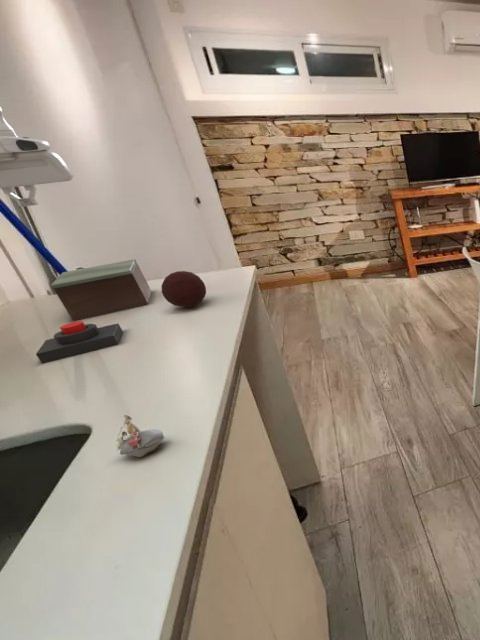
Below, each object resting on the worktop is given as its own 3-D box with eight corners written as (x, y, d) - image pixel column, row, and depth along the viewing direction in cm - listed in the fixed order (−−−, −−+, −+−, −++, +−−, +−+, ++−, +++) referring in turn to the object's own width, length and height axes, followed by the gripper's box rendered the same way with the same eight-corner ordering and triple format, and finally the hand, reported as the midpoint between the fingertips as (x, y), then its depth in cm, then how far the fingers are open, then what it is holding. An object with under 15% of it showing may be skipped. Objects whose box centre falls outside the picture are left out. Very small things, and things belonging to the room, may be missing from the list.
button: (62, 337, 100) (58, 329, 99) (66, 332, 103) (61, 324, 102) (85, 331, 102) (81, 324, 101) (88, 326, 105) (84, 319, 104)
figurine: (172, 437, 71) (152, 403, 68) (164, 453, 67) (143, 419, 65) (127, 449, 69) (105, 415, 66) (116, 467, 65) (93, 432, 62)
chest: (148, 304, 127) (131, 272, 123) (73, 320, 119) (52, 287, 116) (151, 291, 137) (136, 262, 133) (82, 306, 129) (64, 275, 126)
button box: (41, 363, 98) (30, 346, 96) (51, 348, 104) (40, 332, 102) (118, 344, 104) (109, 327, 102) (123, 331, 111) (114, 316, 109)
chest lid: (131, 273, 123) (129, 270, 122) (52, 288, 115) (50, 285, 115) (136, 262, 133) (135, 259, 133) (64, 275, 126) (62, 272, 125)
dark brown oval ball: (208, 295, 130) (193, 263, 126) (215, 306, 122) (200, 271, 118) (169, 305, 125) (152, 272, 121) (173, 317, 117) (155, 281, 113)
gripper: (-81, 151, 103) (-39, 215, 109) (50, 141, 114) (82, 200, 120) (-69, 150, 108) (-29, 211, 114) (56, 141, 118) (86, 197, 124)
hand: (29, 205), depth 117 cm, fingers closed
